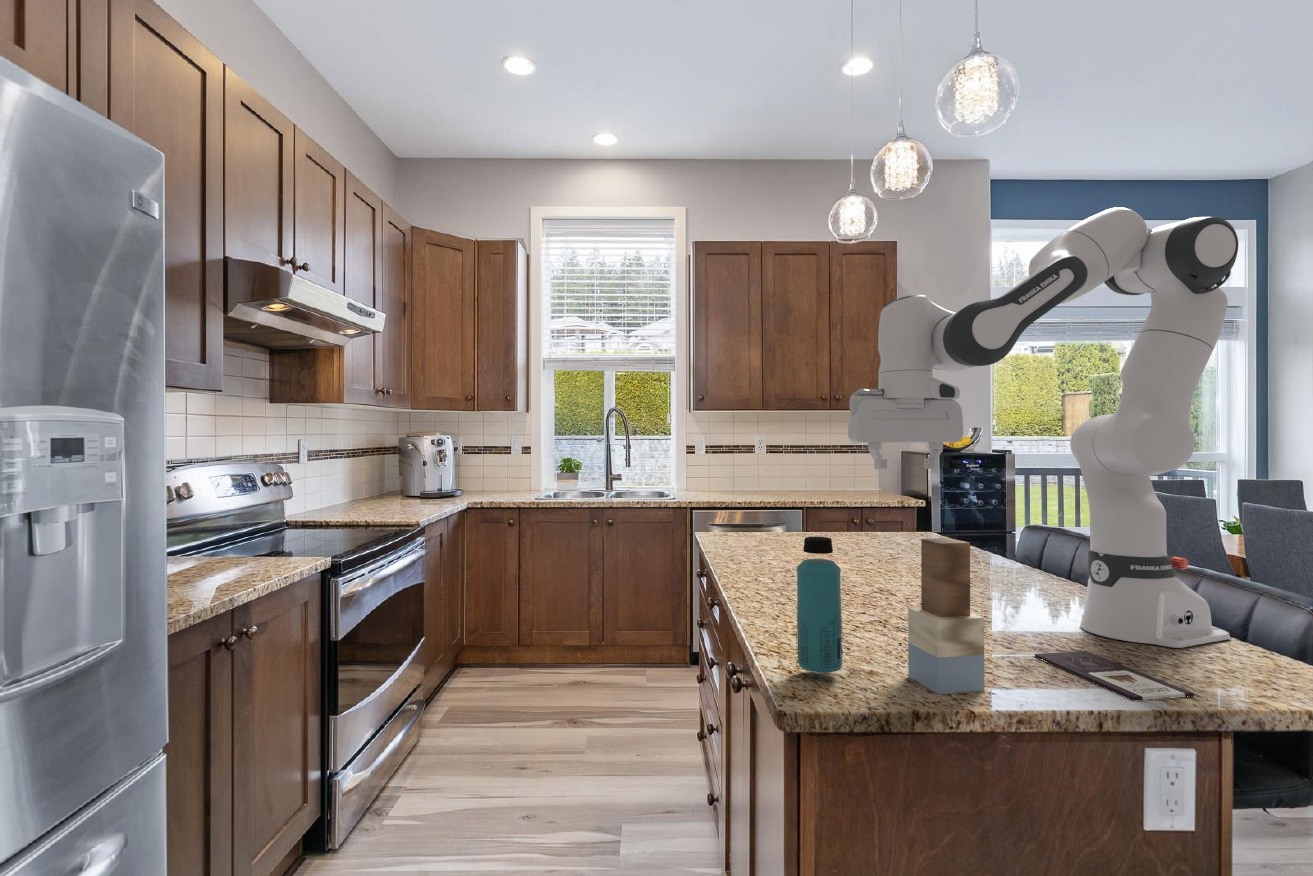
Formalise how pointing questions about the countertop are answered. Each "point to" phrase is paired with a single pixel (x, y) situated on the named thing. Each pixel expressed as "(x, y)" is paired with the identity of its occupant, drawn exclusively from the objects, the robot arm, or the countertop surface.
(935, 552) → the pillar
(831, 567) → the beverage bottle
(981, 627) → the tower top
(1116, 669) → the chocolate bar
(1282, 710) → the countertop surface
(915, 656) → the tower base
